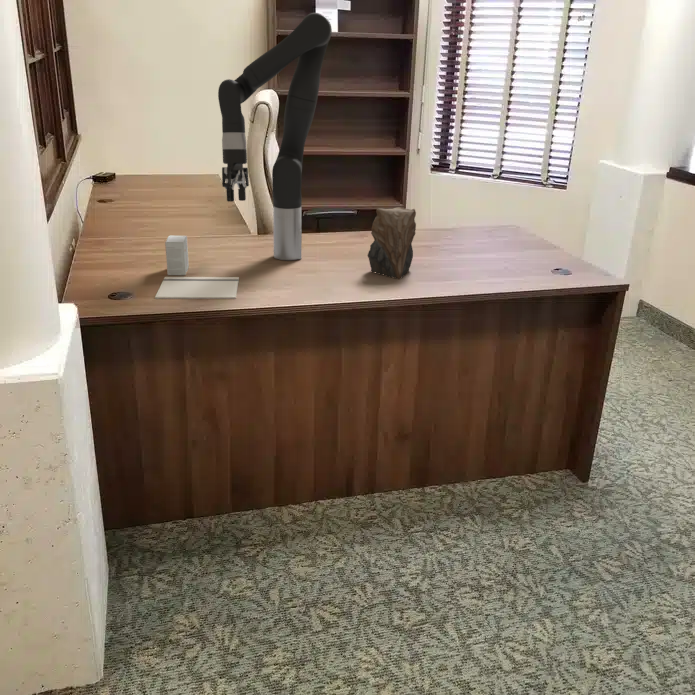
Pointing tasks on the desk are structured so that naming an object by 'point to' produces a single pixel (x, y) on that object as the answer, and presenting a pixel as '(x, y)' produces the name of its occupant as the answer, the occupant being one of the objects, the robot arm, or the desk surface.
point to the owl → (392, 241)
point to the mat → (198, 288)
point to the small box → (177, 255)
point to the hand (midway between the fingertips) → (236, 201)
